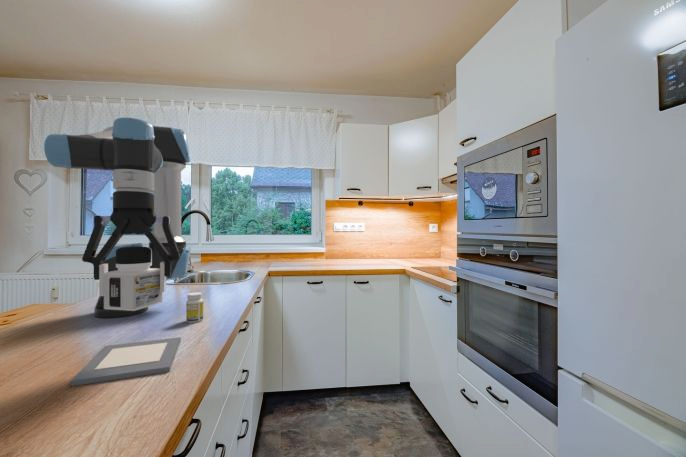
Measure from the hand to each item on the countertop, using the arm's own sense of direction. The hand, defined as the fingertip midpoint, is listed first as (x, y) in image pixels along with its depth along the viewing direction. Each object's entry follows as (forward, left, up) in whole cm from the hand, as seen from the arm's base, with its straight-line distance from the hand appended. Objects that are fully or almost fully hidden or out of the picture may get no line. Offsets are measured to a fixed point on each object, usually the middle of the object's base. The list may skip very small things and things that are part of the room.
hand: (134, 292), depth 68 cm
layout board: (0, 0, -15) cm, 15 cm away
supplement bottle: (-27, +10, -15) cm, 33 cm away
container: (0, 0, -3) cm, 3 cm away
